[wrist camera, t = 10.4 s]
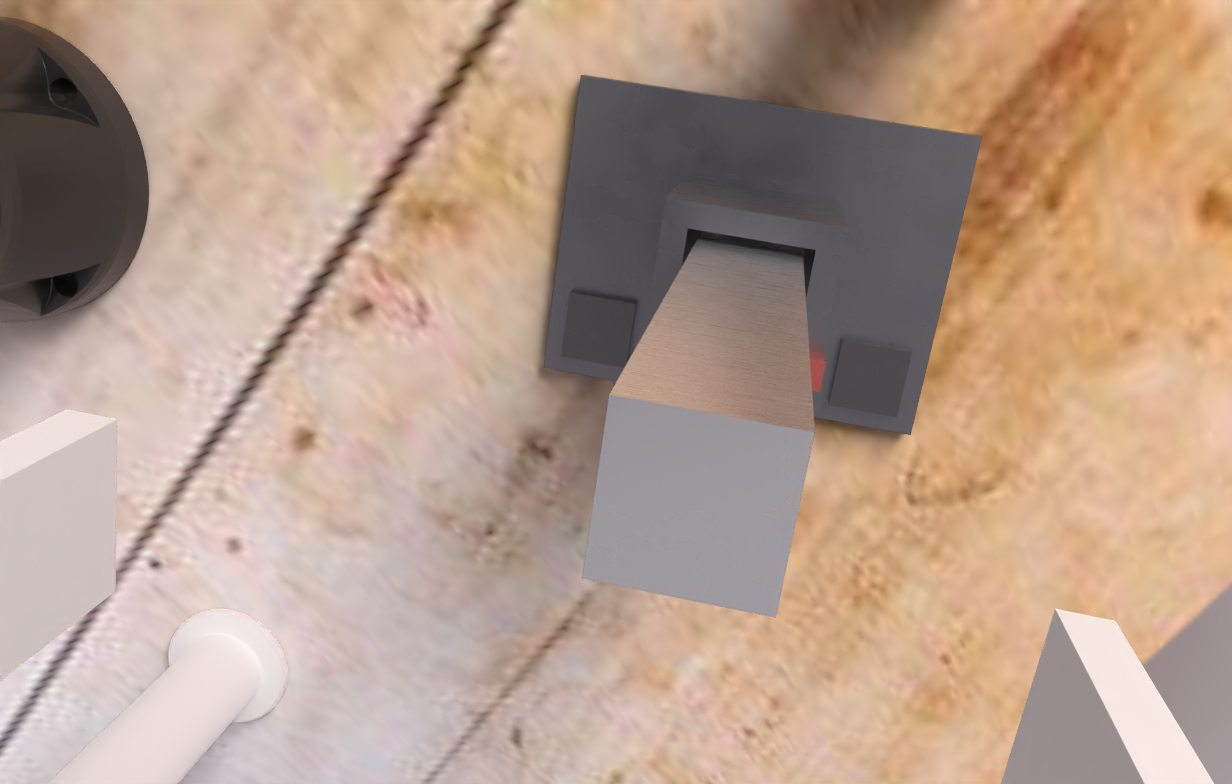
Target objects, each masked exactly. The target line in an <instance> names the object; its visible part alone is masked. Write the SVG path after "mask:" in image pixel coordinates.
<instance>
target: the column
mask: <svg viewBox="0 0 1232 784" xmlns="http://www.w3.org/2000/svg"><path fill="white" fill-rule="evenodd" d="M814 434H815V427H814V412H813V398H812V383H811V368H810V354H809V339H808V324H807V309H806V295H805V280H804V265H803V253H802V252H796V251H790V250H784V249H778V248H772V247H766V246H760V245H754V244H748V243H742V242H736V241H730V240H724V239H718V238H712V237H706V236H699V237H698V239H697V241H696V243H695V245H694V246H693V248H692V250H691V252H690V253H689V255H688V257H687V259H686V260H685V262H684V264H683V266H682V267H681V269H680V271H679V273H678V274H677V276H676V278H675V280H674V281H673V283H672V285H671V287H670V289H669V290H668V292H667V294H666V296H665V297H664V299H663V301H662V303H661V304H660V306H659V308H658V310H657V311H656V313H655V315H654V317H653V318H652V320H651V322H650V324H649V325H648V327H647V329H646V331H645V332H644V334H643V336H642V338H641V340H640V341H639V343H638V345H637V347H636V348H635V350H634V352H633V354H632V355H631V357H630V359H629V361H628V362H627V364H626V366H625V368H624V369H623V371H622V373H621V375H620V376H619V378H618V380H617V382H616V384H615V385H614V387H613V389H612V391H611V392H610V394H609V400H608V407H607V413H606V420H605V427H604V434H603V440H602V447H601V454H600V460H599V467H598V474H597V481H596V487H595V494H594V501H593V508H592V514H591V521H590V528H589V534H588V541H587V548H586V555H585V561H584V568H583V575H582V578H583V579H588V580H593V581H598V582H603V583H608V584H613V585H618V586H622V587H627V588H632V589H637V590H642V591H647V592H652V593H657V594H662V595H667V596H672V597H676V598H681V599H686V600H691V601H696V602H701V603H706V604H711V605H716V606H721V607H726V608H730V609H735V610H740V611H745V612H750V613H755V614H760V615H765V616H770V617H775V618H776V614H777V609H778V604H779V600H780V595H781V590H782V586H783V581H784V576H785V571H786V567H787V562H788V557H789V552H790V548H791V543H792V538H793V533H794V529H795V524H796V519H797V515H798V510H799V505H800V500H801V496H802V491H803V486H804V481H805V477H806V472H807V467H808V462H809V458H810V453H811V448H812V444H813V439H814Z"/></svg>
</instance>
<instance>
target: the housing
mask: <svg viewBox="0 0 1232 784" xmlns="http://www.w3.org/2000/svg"><path fill="white" fill-rule="evenodd" d="M981 139H982V137H981V136H978V135H972V134H965V133H959V132H952V131H946V130H939V129H933V128H926V127H920V126H913V125H907V124H900V123H894V122H887V121H881V120H874V119H868V118H861V117H855V116H848V115H842V114H835V113H829V112H822V111H816V110H809V109H803V108H796V107H789V106H783V105H776V104H770V103H763V102H757V101H750V100H744V99H737V98H731V97H724V96H718V95H711V94H705V93H698V92H692V91H685V90H679V89H672V88H666V87H659V86H653V85H646V84H640V83H633V82H627V81H620V80H614V79H607V78H601V77H594V76H588V75H581V80H580V88H579V95H578V103H577V111H576V119H575V126H574V134H573V142H572V150H571V158H570V165H569V173H568V181H567V189H566V197H565V204H564V212H563V220H562V228H561V236H560V243H559V251H558V259H557V267H556V275H555V282H554V290H553V298H552V306H551V313H550V321H549V329H548V337H547V345H546V352H545V360H544V368H549V369H554V370H559V371H565V372H570V373H576V374H581V375H587V376H592V377H598V378H603V379H609V380H614V381H617V380H618V378H619V376H620V375H621V373H622V371H623V369H624V368H625V366H626V364H627V362H628V361H629V359H630V357H631V355H632V354H633V352H634V350H635V348H636V347H637V345H638V343H639V341H640V340H641V338H642V336H643V334H644V332H645V331H646V329H647V327H648V325H649V324H650V322H651V320H652V318H653V317H654V315H655V313H656V311H657V310H658V308H659V306H660V304H661V303H662V301H663V299H664V297H665V296H666V294H667V292H668V290H669V289H670V287H671V285H672V283H673V281H674V280H675V278H676V276H677V274H678V273H679V271H680V269H681V267H682V266H683V264H684V262H685V260H686V259H687V257H688V255H689V253H690V252H691V250H692V248H693V246H694V245H695V243H696V241H697V239H698V237H699V236H706V237H712V238H718V239H724V240H730V241H736V242H742V243H748V244H754V245H760V246H766V247H772V248H778V249H784V250H790V251H796V252H802V253H803V265H804V280H805V295H806V309H807V324H808V339H809V354H810V368H811V383H812V398H813V412H814V417H816V418H821V419H827V420H832V421H838V422H843V423H848V424H854V425H859V426H865V427H870V428H876V429H881V430H887V431H892V432H897V433H903V434H908V435H911V431H912V427H913V423H914V419H915V414H916V410H917V406H918V402H919V398H920V394H921V389H922V385H923V381H924V377H925V373H926V369H927V364H928V360H929V356H930V352H931V348H932V344H933V339H934V335H935V331H936V327H937V323H938V319H939V314H940V310H941V306H942V302H943V298H944V294H945V289H946V285H947V281H948V277H949V273H950V269H951V264H952V260H953V256H954V252H955V248H956V244H957V239H958V235H959V231H960V227H961V223H962V219H963V214H964V210H965V206H966V202H967V198H968V194H969V189H970V185H971V181H972V177H973V173H974V168H975V164H976V160H977V156H978V152H979V148H980V143H981Z"/></svg>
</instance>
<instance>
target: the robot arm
mask: <svg viewBox="0 0 1232 784" xmlns="http://www.w3.org/2000/svg"><path fill="white" fill-rule="evenodd" d="M148 199H149V185H148V173H147V166H146V160H145V156H144V151H143V147H142V144H141V141H140V137H139V135H138V132H137V129H136V127H135V124H134V122H133V120H132V117H131V115H130V113H129V111H128V109H127V108H126V106H125V104H124V102H123V101H122V99H121V97H120V95H119V94H118V92H117V91H116V90H115V88H114V87H113V85H112V84H111V83H110V81H109V80H108V79H107V77H106V76H105V75H104V74H103V73H102V72H101V71H100V69H99V68H98V67H97V66H96V65H95V64H94V63H93V62H92V61H91V60H90V59H89V58H88V57H87V56H85V55H84V54H83V53H82V52H81V51H80V50H78V49H77V48H76V47H74V46H73V45H72V44H70V43H69V42H67V41H66V40H64V39H63V38H61V37H60V36H58V35H56V34H54V33H52V32H51V31H48V30H46V29H44V28H42V27H40V26H37V25H34V24H32V23H29V22H25V21H22V20H18V19H13V18H8V17H0V322H25V321H33V320H39V319H43V318H47V317H51V316H54V315H57V314H60V313H63V312H66V311H69V310H72V309H75V308H78V307H81V306H83V305H85V304H87V303H89V302H91V301H92V300H94V299H96V298H97V297H99V296H100V295H102V294H103V293H104V292H106V291H107V290H108V289H109V288H110V287H111V286H112V285H113V284H114V283H115V282H116V281H117V280H118V279H119V278H120V277H121V275H122V274H123V273H124V272H125V270H126V269H127V267H128V266H129V264H130V263H131V261H132V259H133V257H134V255H135V253H136V251H137V249H138V247H139V244H140V241H141V238H142V235H143V232H144V228H145V224H146V218H147V211H148ZM116 497H117V419H113V418H108V417H103V416H98V415H93V414H89V413H84V412H79V411H74V410H69V409H67V410H65V411H62V412H60V413H58V414H56V415H54V416H52V417H50V418H48V419H46V420H44V421H41V422H39V423H37V424H35V425H33V426H31V427H29V428H27V429H25V430H22V431H20V432H18V433H16V434H14V435H12V436H10V437H8V438H6V439H3V440H1V441H0V681H1V680H2V679H4V678H5V677H6V676H7V675H9V674H10V673H11V672H13V671H14V670H15V669H16V668H18V667H19V666H20V665H21V664H23V663H24V662H25V661H27V660H28V659H29V658H30V657H32V656H33V655H34V654H36V653H37V652H38V651H39V650H41V649H42V648H43V647H44V646H46V645H47V644H48V643H50V642H51V641H52V640H53V639H55V638H56V637H57V636H59V635H60V634H61V633H62V632H64V631H65V630H66V629H67V628H69V627H70V626H71V625H73V624H74V623H75V622H76V621H78V620H79V619H80V618H82V617H83V616H84V615H85V614H87V613H88V612H89V611H91V610H92V609H93V608H94V607H96V606H97V605H98V604H99V603H101V602H102V601H103V600H105V599H106V598H107V597H108V596H110V595H111V594H112V593H114V592H115V581H116ZM1001 784H1214V783H1213V781H1212V780H1211V778H1210V776H1209V775H1208V773H1207V771H1206V770H1205V768H1204V767H1203V765H1202V763H1201V762H1200V760H1199V758H1198V757H1197V755H1196V753H1195V752H1194V750H1193V748H1192V747H1191V745H1190V743H1189V742H1188V740H1187V738H1186V737H1185V736H1184V734H1183V732H1182V730H1181V729H1180V727H1179V725H1178V724H1177V722H1176V721H1175V719H1174V717H1173V715H1172V714H1171V712H1170V711H1169V709H1168V707H1167V706H1166V704H1165V702H1164V701H1163V699H1162V697H1161V696H1160V694H1159V692H1158V691H1157V689H1156V688H1155V686H1154V684H1153V683H1152V681H1151V679H1150V678H1149V676H1148V674H1147V673H1146V671H1145V669H1144V668H1143V666H1142V664H1141V663H1140V661H1139V659H1138V658H1137V656H1136V655H1135V653H1134V651H1133V650H1132V648H1131V646H1130V645H1129V643H1128V641H1127V640H1126V638H1125V636H1124V635H1123V633H1122V631H1121V630H1120V628H1119V627H1118V625H1117V623H1116V622H1115V621H1113V620H1108V619H1103V618H1098V617H1093V616H1088V615H1083V614H1078V613H1073V612H1068V611H1064V610H1059V609H1055V611H1054V615H1053V618H1052V621H1051V624H1050V628H1049V631H1048V634H1047V637H1046V640H1045V644H1044V647H1043V650H1042V653H1041V657H1040V660H1039V663H1038V666H1037V669H1036V673H1035V676H1034V679H1033V682H1032V686H1031V689H1030V692H1029V695H1028V698H1027V702H1026V705H1025V708H1024V711H1023V715H1022V718H1021V721H1020V724H1019V727H1018V731H1017V734H1016V737H1015V740H1014V744H1013V747H1012V750H1011V753H1010V756H1009V760H1008V763H1007V766H1006V769H1005V772H1004V776H1003V779H1002V782H1001Z"/></svg>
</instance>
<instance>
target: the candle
mask: <svg viewBox="0 0 1232 784" xmlns="http://www.w3.org/2000/svg"><path fill="white" fill-rule="evenodd" d="M168 664H169V668H168V669H167V670H166V671H165V672H164V673H163V674H162V675H161V676H160V677H159V678H158V679H157V680H156V681H155V682H153V683H152V684H151V685H150V686H149V687H148V688H147V689H146V690H145V691H144V692H143V693H142V694H141V695H140V696H139V697H138V698H137V699H136V700H135V701H134V702H132V703H131V704H130V705H129V706H128V707H127V708H126V709H125V710H124V711H123V712H122V713H121V714H120V715H119V716H118V717H117V718H116V719H115V720H114V721H113V722H111V723H110V724H109V725H108V726H107V727H106V728H105V729H104V730H103V731H102V732H101V733H100V734H99V735H98V736H97V737H96V738H95V739H94V740H93V741H92V742H90V743H89V744H88V745H87V746H86V747H85V748H84V749H83V750H82V751H81V752H80V753H79V754H78V755H77V756H76V757H75V758H74V759H73V760H72V761H71V762H69V763H68V764H67V765H66V766H65V767H64V768H63V769H62V770H61V771H60V772H59V773H58V774H57V775H56V776H55V777H54V778H53V779H52V780H51V781H50V782H48V783H47V784H178V783H179V782H180V781H181V780H182V779H183V778H184V776H185V775H186V774H187V773H188V772H189V771H190V770H191V768H192V767H193V766H194V765H195V764H196V763H197V761H198V760H199V759H200V758H201V757H202V756H203V754H204V753H205V752H206V751H207V750H208V749H209V748H210V746H211V745H212V744H213V743H214V742H215V741H216V739H217V738H218V737H219V736H220V735H221V734H222V733H223V731H224V730H225V729H226V728H227V727H228V726H229V724H230V723H231V722H234V723H242V722H249V721H253V720H256V719H258V718H260V717H262V716H264V715H265V714H267V713H268V712H270V711H271V710H272V709H273V708H274V707H275V705H276V704H277V703H278V702H279V700H280V699H281V697H282V696H283V694H284V691H285V689H286V686H287V681H288V666H287V661H286V657H285V654H284V652H283V649H282V647H281V645H280V644H279V642H278V641H277V639H276V638H275V636H274V635H273V634H272V633H271V632H270V631H269V630H268V628H266V627H265V626H264V625H263V624H262V623H260V622H259V621H258V620H256V619H254V618H253V617H251V616H249V615H247V614H245V613H242V612H239V611H236V610H231V609H224V608H215V609H208V610H204V611H201V612H198V613H196V614H194V615H193V616H191V617H190V618H188V619H187V620H186V621H185V622H184V623H183V624H181V625H180V627H179V628H178V629H177V630H176V632H175V633H174V635H173V637H172V639H171V642H170V645H169V650H168Z"/></svg>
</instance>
